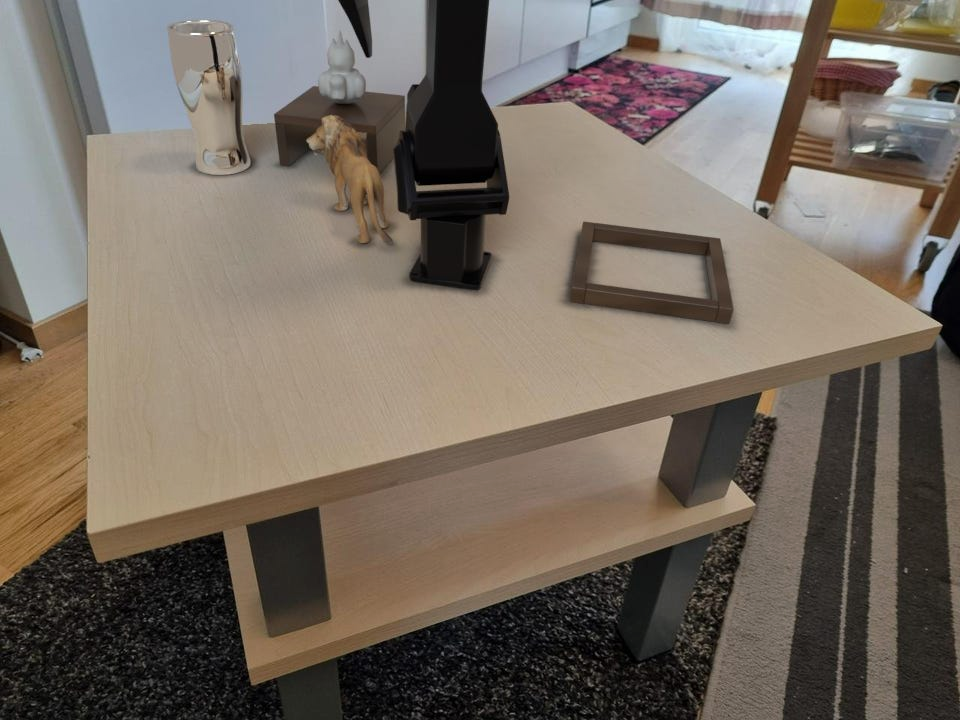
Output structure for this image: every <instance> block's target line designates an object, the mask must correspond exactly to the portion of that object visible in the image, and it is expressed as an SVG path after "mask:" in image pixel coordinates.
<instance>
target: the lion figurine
mask: <svg viewBox="0 0 960 720" xmlns="http://www.w3.org/2000/svg"><path fill="white" fill-rule="evenodd" d="M361 139H362V138H361V136H360V134H358V132H356V131H355V129H353V128H352V127H351V125H350V124H349V123H347V122H346V120H344V119H342V118H340V117H339V116H336V115H335V116H333V115H329V116H326V117H323V118H322V126H321V127H319V128H318V129H317V131H316V133H314V134H313V135H312V136H310V137H309V138H308V139H307V140H306V141H307V143H309V146H310V148H309V149H311V150H312V152H313V155H314V156H320V155H324V161H325V163H328V166H329V169H330V171H331V174H332V175H333V176H334V186H335V191H336V194H337V197H338V202H337V203H335V204H334V207H333V209H334V210H335V211H337V212H338V211H339V212H343V211H344V212H345V211H347V210H348V208H349V199H348V197H347V189H346V188H349V191H350V192H349V193H350V203H351V207H352V211H353V214H354V217H355V219H356V221H357V225H358V229H359V234H358V235H357V238H356V240H357V243H359V244H367V243H368V242H369V241H370V234H369V228H368V223H367V220H366V219H365V215H364V206H366V205H368V208H369V212H370V217H371V221H372V223H373V226H374V228H375V230H376V231H377V232H378V234H379V235H380V237H381V238H382V240H383V242H384V243H387V244H393V243H394V240H393V238H392V237H391V236H390V235H389V234H388V233H387V232H386V231H385V230H384V229H387V228H388V227H389V225H390V223H389V221H388V220H386V215H385V207H384V206H385V189H384V183H383V179H382V176H381V173H380V174H379V172H378V169H377V168H376V167H375V166H374V165H372V164H371V163H370V161H369V160H368V159H367V147H366V144H365V143H364V142H363V141H362V140H361Z"/></svg>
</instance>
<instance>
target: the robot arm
mask: <svg viewBox="0 0 960 720" xmlns="http://www.w3.org/2000/svg"><path fill="white" fill-rule="evenodd" d="M337 1H338V3H339V4H340V7H341V8H342V10H343V12H344V13H345V15H346V17H347V18H348V21H349V22H350V25H351V26H352V29H353V32H354V34H355V36H356V38H357V40H358V43H359V45H360V47H361V50H362V52H363V54H364V56H365V58H366V59H370V58H372V56H373V35H372V26H371V16H370V6H369V0H337ZM489 7H490V0H428V9H427V13H428V14H427V42H426V43H427V44H426V73H425V75H424V77H423V78H422V79H421V81H420V82H419V83H413V84H412V85H410V87H409V89H408V91H407V94H406V105H405V130H400V132H399V139H398V142H397V145H396V146H395V147H394V148H393V156H394V158H393V165H394V174H395V175H394V176H395V182H396V183H395V184H396V199H397V202H396V203H397V212H399V213H402V214H405V215H407V216H408V218H409V221H417V220H420V254H419V256H418V257H417V258H416V261H415V262H414V264H413V266H412V268H411V270H410V272H409V274H408V277H409V278H408V279H409V281H412V282H419V283H424V284H425V283H426V284H431V285H432V284H433V285H438V286H439V285H440V286H446V287H447V286H448V287H454V288H460V289H468V290H480V289H481V287H482V285H483V282H484V279H485V277H486V274H487V271H488V269H489V266H490V263H491V261H492V253H491V252H489V251H484V249H485V231H486V216H490V215H492V216H493V215H499V216H506V215H507V211H508V208H509V207H508V206H509V202H510V192H509V185H508V177H507V170H506V165H505V158H504V157H505V156H504V149H503V144H502V137H501V133H500V130H499V123H498V121H497V119H496V117H495V114H494V112H493V111H492V109H491V107H490V105H489V103H488V101H487V99H486V96H485V95H484V93H483V80H484V79H483V78H484V67H485V66H484V65H485V57H486V55H485V53H486V43H487V42H486V41H487V32H488V20H489V10H490V9H489ZM485 183H486V187H470V188H454V189H453V188H452V189H433V190H417V187H416V186H418V187H425V186H426V187H427V186H444V185H446V186H447V185H448V186H449V185H465V184H466V185H467V184H485Z"/></svg>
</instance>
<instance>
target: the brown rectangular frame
mask: <svg viewBox="0 0 960 720" xmlns="http://www.w3.org/2000/svg"><path fill="white" fill-rule="evenodd" d="M593 242H598V243H606V244H614V245H621V246H629V247H634V248H635V247H636V248H645V249H651V250H660V251H668V252H676V253H684V254H691V255H697V256H698V255H699V256H704V257H705V261H706V268H707V269H706V270H707V276H708V282H709V283H708V284H709V290H710V296H711V297H710V298H711V299H710V298H702V297H695V296H688V295H682V294H681V295H680V294H673V293H665V292H660V291H659V292H657V291H651V290H643V289H638V288H637V289H635V288H628V287H620V286H614V285H606V284H599V283H598V284H597V283H592V282H588V276H589V271H590V270H589V268H590V263H591V255H592V247H593ZM723 251H724V250H723V246H722V241H721V238H719V237H712V236H704V235H697V234H696V235H695V234H687V233H680V232H673V231H664V230H657V229H650V228H649V229H647V228H639V227H634V226H624V225H616V224H609V223H601V222H591V221H582V225H581V231H580V238H579V243H578V250H577V255H576V261H575V266H574V272H573V279H572V283H571V284H572V285H571V290H570V297H569V298H570V299H569V303H576V304H585V305H591V306H597V307H599V306H600V307H605V308H613V309H621V310H627V311H634V312H642V313H649V314H656V315H663V316H671V317H678V318H683V319H684V318H685V319H692V320H697V321H698V320H700V321H706V322H715V323H718V324H719V323H720V324H726V325H729V324H731V323H730V322H731V319H732V317H733V313H734V305H733V299H732V294H731V288H730V283H729V278H728V272H727V265H726V262H725V257H724V252H723Z"/></svg>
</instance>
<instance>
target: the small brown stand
mask: <svg viewBox="0 0 960 720" xmlns="http://www.w3.org/2000/svg"><path fill="white" fill-rule="evenodd" d="M329 115H333V116H335V115H336V116H339V117H340V118H342V119H344V120H346V122H347V123H349V124H350V125H351V127H352V128H353V129H355V131H356V133H362V134H365V138H366V150H367V159H368V160H369V161H370V163H371V164H372V165H374V166H375V167H376V168H377V169H378V172H379V174H380V175H381V174H382V172H383V171H384V170H385V169H386V167H387V166H388V165H389V164H390V162H392V160H394V156H393V148H394V147H395V146H396V145H397V142H398V139H399V132H400V130H405V129H406V95H403V94H402V95H401V94H392V93H384V92H375V91H365V93H364V95H363V96H362V98H360V99H358V100H357V101H356V102H354V103H351V104H339V103H335V102H332V101H330V100H329V99H328V98H327V97H324V96H322V95H321V93H320V91H319V86H317V85H313V86H311V87H309V88H308V89H306V90H305V91H304V92H303V93H301V94H300V95H298V96H297V97H295V98H294V99H293V100H292V101H290V102H288V103H287V104H286V105H285V106H283V107H282V108H281V109H279V110H278V111H276V112H275V113H273V118H274V127H275V134H276V144H277V153H278V160H279V165H280V166H284V167H290V166H292V164H294V163H295V162H296V161H297V160H298V159H299V158H301V156H303V155H304V154H305V153H306V152H307V151H308V150H309V149H311V148H310V146H309V143H307V141H306V140H307V139H308V138H309V137H310V136H312V135H313V134H314V133H316V131H317V129H318V128H319V127H321V126H322V118H323V117H326V116H329Z"/></svg>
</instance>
